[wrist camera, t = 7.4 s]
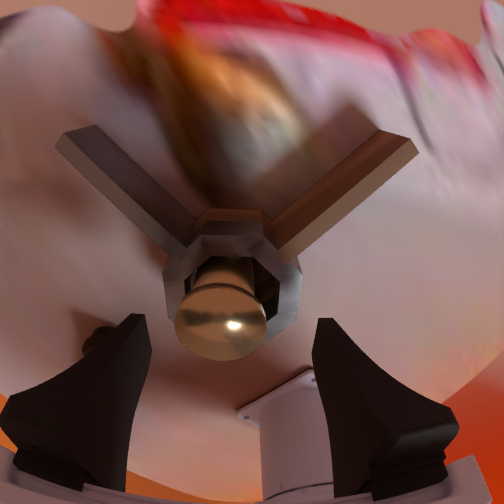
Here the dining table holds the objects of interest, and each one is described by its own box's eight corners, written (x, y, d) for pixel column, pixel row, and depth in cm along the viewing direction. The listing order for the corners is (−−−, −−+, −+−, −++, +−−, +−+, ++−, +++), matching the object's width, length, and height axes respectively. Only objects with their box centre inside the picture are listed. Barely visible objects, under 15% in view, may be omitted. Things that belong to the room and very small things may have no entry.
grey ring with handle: (313, 264, 19) (326, 298, 15) (233, 325, 20) (232, 364, 17) (129, 83, 14) (101, 81, 11) (61, 174, 16) (27, 192, 12)
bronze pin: (259, 288, 19) (264, 360, 14) (195, 288, 19) (180, 359, 14) (260, 230, 18) (268, 291, 12) (191, 230, 17) (169, 290, 12)
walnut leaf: (413, 180, 16) (445, 199, 13) (233, 325, 20) (232, 364, 17) (346, 87, 14) (372, 85, 11) (155, 261, 18) (139, 294, 15)
